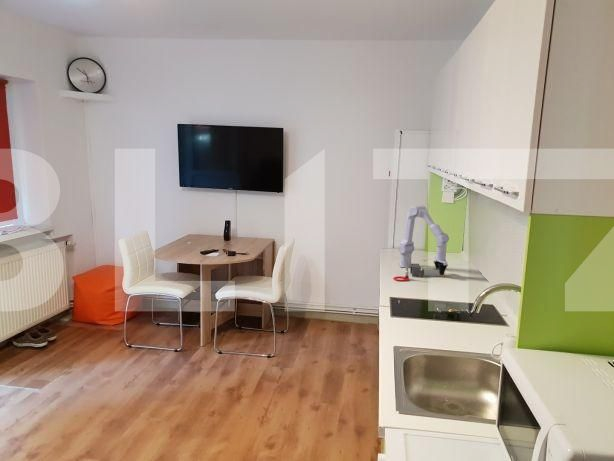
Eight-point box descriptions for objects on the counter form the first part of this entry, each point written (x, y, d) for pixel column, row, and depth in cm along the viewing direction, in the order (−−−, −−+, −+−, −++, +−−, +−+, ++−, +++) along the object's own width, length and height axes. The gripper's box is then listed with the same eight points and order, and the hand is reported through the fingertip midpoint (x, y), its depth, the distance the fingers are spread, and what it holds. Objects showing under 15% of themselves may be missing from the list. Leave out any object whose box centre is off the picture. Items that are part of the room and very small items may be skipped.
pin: (421, 274, 279) (422, 267, 278) (441, 274, 280) (442, 267, 279) (423, 276, 275) (424, 269, 274) (444, 276, 275) (444, 269, 274)
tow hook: (394, 282, 264) (409, 281, 264) (394, 261, 262) (409, 261, 262) (392, 278, 273) (407, 277, 272) (392, 258, 271) (407, 257, 270)
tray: (411, 269, 292) (411, 266, 292) (438, 269, 291) (438, 266, 290) (413, 272, 283) (413, 270, 282) (441, 273, 281) (441, 270, 281)
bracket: (410, 272, 283) (410, 263, 282) (418, 272, 283) (418, 263, 282) (412, 276, 274) (412, 267, 273) (420, 276, 274) (420, 267, 273)
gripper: (430, 250, 281) (429, 270, 284) (440, 255, 267) (438, 276, 269) (440, 250, 282) (439, 270, 285) (451, 255, 268) (449, 276, 270)
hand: (439, 273), depth 277 cm, fingers closed on pin, 5 cm apart
